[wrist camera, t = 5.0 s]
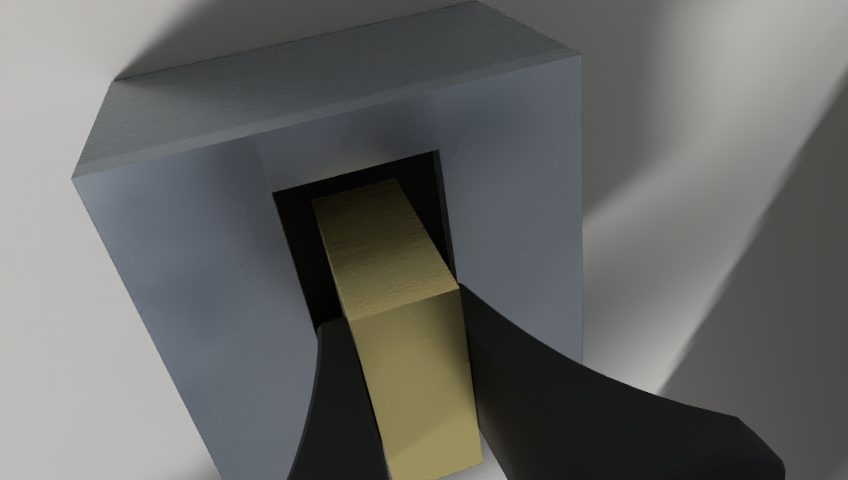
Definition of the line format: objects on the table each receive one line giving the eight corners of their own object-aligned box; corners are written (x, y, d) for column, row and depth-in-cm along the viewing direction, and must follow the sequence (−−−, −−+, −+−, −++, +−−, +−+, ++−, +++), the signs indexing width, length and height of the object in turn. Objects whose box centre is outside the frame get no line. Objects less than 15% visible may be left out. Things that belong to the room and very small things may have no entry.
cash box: (231, 363, 22) (239, 512, 17) (111, 81, 16) (70, 178, 11) (502, 280, 23) (582, 394, 18) (477, 0, 18) (582, 54, 13)
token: (354, 355, 17) (396, 493, 14) (311, 200, 14) (349, 321, 11) (424, 333, 18) (483, 462, 14) (394, 177, 15) (459, 288, 11)
